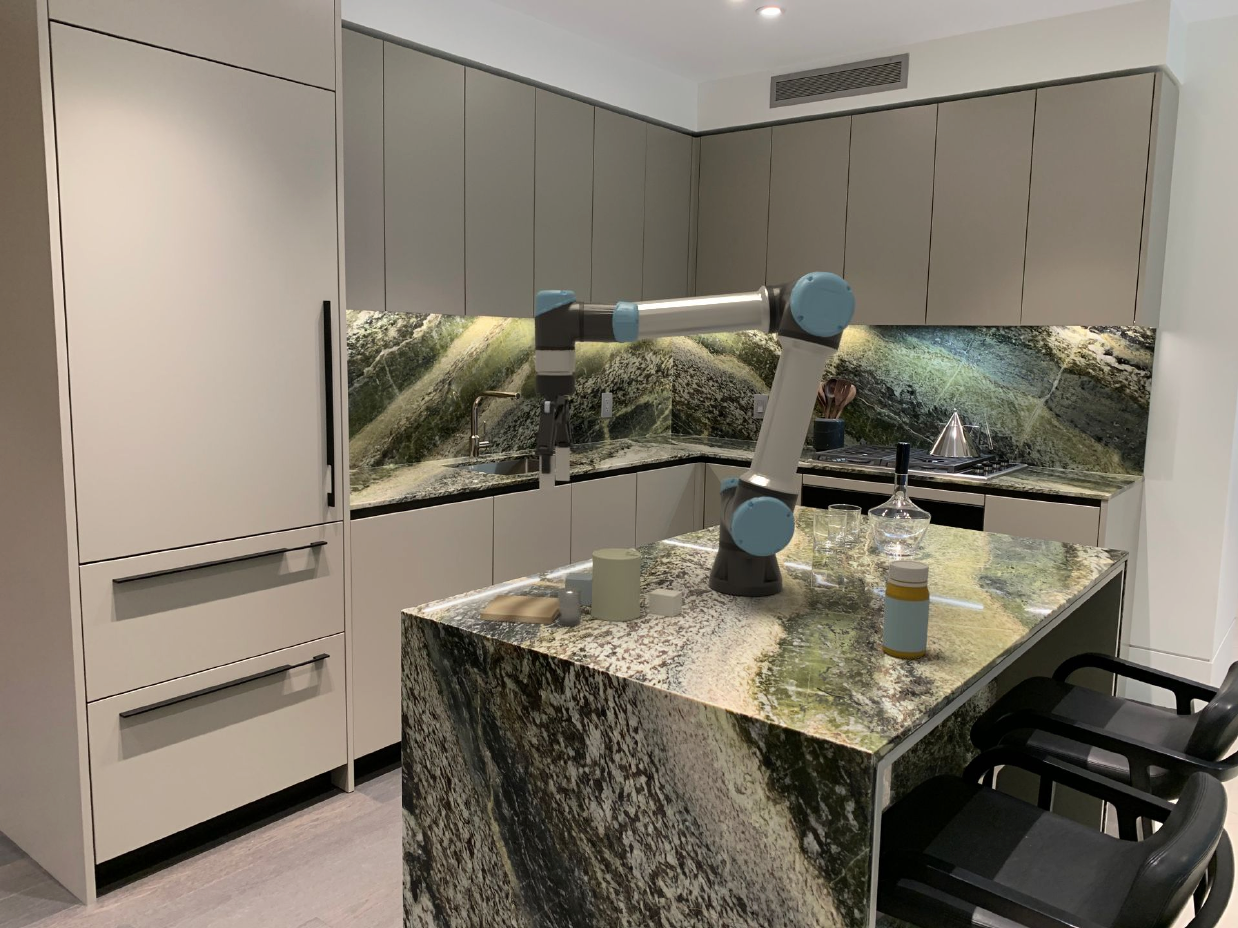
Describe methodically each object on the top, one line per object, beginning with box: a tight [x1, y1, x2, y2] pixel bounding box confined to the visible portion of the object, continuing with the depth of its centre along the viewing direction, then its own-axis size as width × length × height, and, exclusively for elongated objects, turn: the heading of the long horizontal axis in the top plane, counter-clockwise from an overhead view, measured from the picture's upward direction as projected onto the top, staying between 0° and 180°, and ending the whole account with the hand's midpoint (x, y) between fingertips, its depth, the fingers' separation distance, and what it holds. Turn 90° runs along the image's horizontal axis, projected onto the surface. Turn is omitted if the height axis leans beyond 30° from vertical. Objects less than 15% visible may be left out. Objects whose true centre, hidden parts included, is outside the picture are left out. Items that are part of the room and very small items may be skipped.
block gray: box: [564, 572, 593, 606], centre depth 187 cm, size 5×5×5 cm
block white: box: [648, 587, 683, 618], centre depth 180 cm, size 5×4×4 cm
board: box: [479, 594, 558, 625], centre depth 179 cm, size 13×13×1 cm
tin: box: [557, 587, 582, 627], centre depth 172 cm, size 4×4×6 cm
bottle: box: [881, 559, 930, 660], centre depth 159 cm, size 7×7×15 cm
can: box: [590, 547, 642, 622], centre depth 178 cm, size 9×9×12 cm
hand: (555, 485), depth 184 cm, fingers open, 13 cm apart
